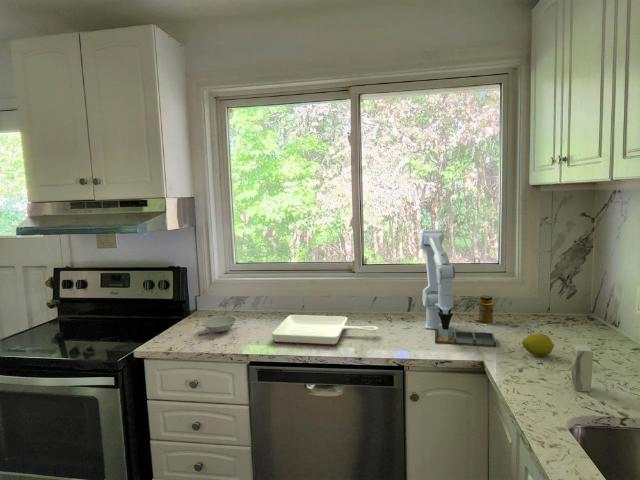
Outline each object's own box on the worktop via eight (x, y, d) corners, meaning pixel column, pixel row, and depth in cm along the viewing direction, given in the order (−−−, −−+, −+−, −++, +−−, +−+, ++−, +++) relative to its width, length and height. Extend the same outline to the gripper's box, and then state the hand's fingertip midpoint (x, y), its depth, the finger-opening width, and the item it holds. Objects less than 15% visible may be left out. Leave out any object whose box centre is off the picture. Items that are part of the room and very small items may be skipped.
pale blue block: (443, 334, 176) (443, 323, 176) (452, 337, 172) (452, 326, 171) (438, 336, 175) (438, 324, 174) (447, 339, 171) (447, 327, 170)
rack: (435, 334, 179) (435, 329, 179) (493, 338, 173) (493, 333, 173) (434, 342, 170) (434, 337, 170) (496, 346, 164) (496, 341, 163)
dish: (225, 339, 182) (224, 328, 181) (196, 336, 186) (195, 325, 186) (244, 326, 199) (243, 316, 198) (217, 324, 203) (216, 314, 202)
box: (570, 383, 131) (571, 343, 130) (586, 385, 130) (588, 344, 129) (575, 391, 126) (576, 350, 125) (592, 392, 125) (593, 351, 124)
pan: (289, 324, 202) (289, 314, 201) (381, 327, 193) (381, 317, 192) (270, 345, 174) (270, 334, 174) (376, 350, 165) (376, 338, 164)
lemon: (551, 352, 156) (552, 331, 155) (557, 360, 149) (557, 339, 148) (519, 350, 159) (520, 330, 158) (523, 358, 152) (524, 337, 151)
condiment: (497, 322, 193) (497, 297, 192) (483, 325, 189) (484, 299, 188) (484, 318, 200) (484, 294, 198) (471, 321, 196) (471, 296, 195)
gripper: (435, 289, 179) (435, 320, 181) (435, 298, 166) (435, 331, 167) (452, 290, 178) (452, 321, 179) (453, 298, 164) (453, 332, 165)
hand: (445, 326), depth 173 cm, fingers open, 7 cm apart
